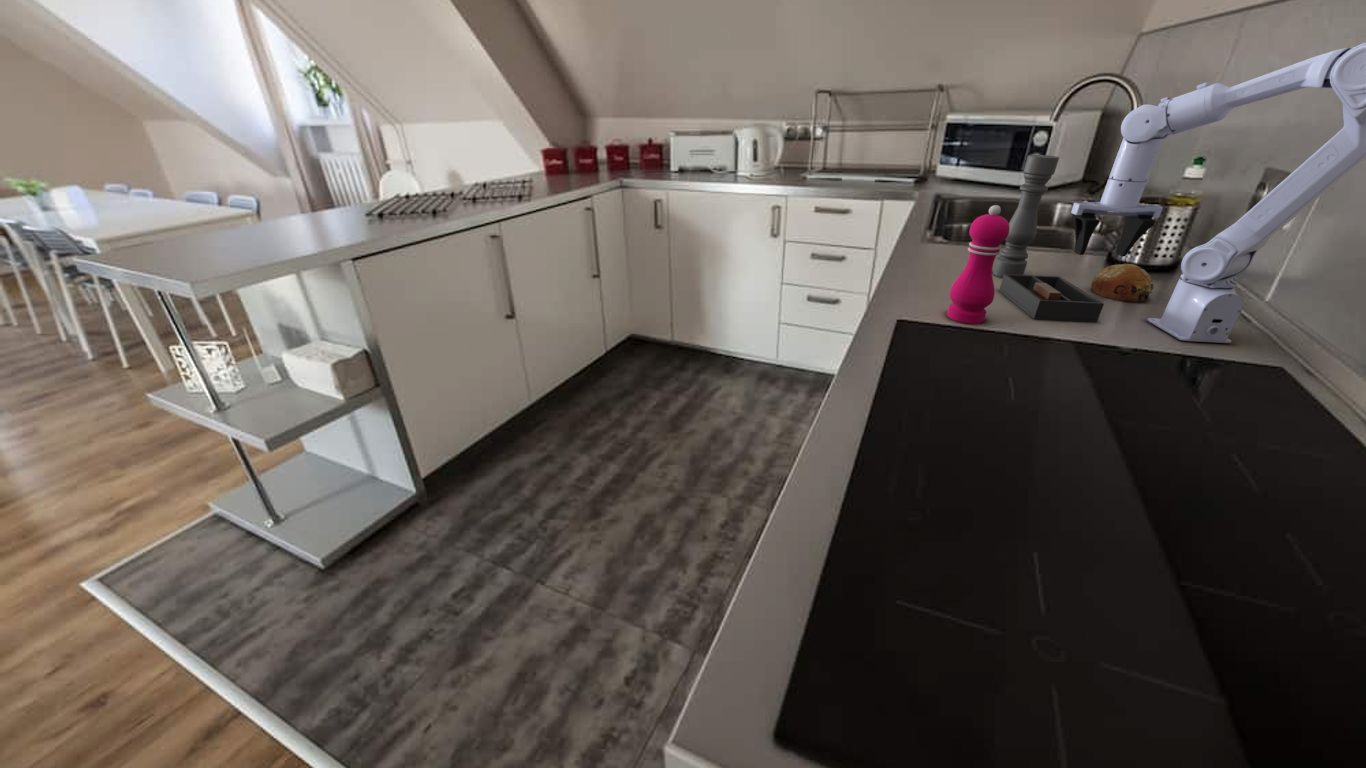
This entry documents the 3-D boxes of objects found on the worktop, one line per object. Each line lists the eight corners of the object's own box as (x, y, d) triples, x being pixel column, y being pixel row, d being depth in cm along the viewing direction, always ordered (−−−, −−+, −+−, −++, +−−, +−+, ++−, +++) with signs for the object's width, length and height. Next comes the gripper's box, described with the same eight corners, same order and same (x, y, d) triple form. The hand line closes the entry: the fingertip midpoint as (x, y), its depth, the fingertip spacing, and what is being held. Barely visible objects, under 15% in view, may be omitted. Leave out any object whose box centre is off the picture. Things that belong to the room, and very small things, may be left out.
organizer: (1096, 322, 101) (1104, 303, 99) (1033, 319, 102) (1040, 300, 100) (1054, 293, 115) (1059, 276, 113) (998, 290, 116) (1003, 273, 114)
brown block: (1055, 314, 102) (1063, 293, 100) (1041, 313, 102) (1049, 292, 101) (1023, 290, 114) (1029, 271, 112) (1011, 289, 114) (1017, 270, 112)
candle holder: (986, 272, 127) (1019, 155, 115) (1004, 269, 130) (1039, 154, 118) (1010, 280, 122) (1047, 158, 111) (1029, 277, 125) (1067, 157, 113)
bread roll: (1129, 306, 119) (1132, 268, 119) (1166, 302, 109) (1170, 260, 109) (1080, 304, 120) (1083, 266, 120) (1112, 299, 110) (1117, 258, 109)
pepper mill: (991, 326, 98) (1027, 210, 89) (948, 323, 100) (978, 208, 90) (981, 312, 105) (1012, 202, 95) (940, 309, 106) (967, 200, 96)
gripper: (1155, 177, 103) (1126, 250, 110) (1074, 175, 105) (1050, 247, 111) (1182, 183, 97) (1149, 260, 104) (1094, 181, 98) (1068, 256, 105)
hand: (1099, 254), depth 107 cm, fingers open, 7 cm apart
